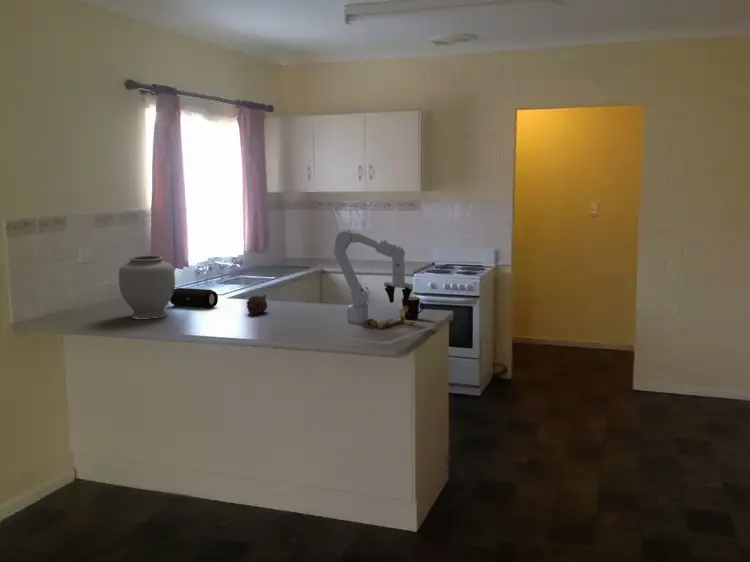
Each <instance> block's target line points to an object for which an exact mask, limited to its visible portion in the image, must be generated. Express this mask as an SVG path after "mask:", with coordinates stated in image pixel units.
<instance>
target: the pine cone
mask: <svg viewBox="0 0 750 562" xmlns="http://www.w3.org/2000/svg"><path fill="white" fill-rule="evenodd" d="M266 297H267V295H266V294H264V295H252V296H251V297H250V298H248V301H246V308H247V311H248V313H249V314H250V315H253V316H256V315H258V314H260V313H264V312H265V311H266V310H267V308H268V303H267V301H266Z"/></svg>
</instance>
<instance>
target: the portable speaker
mask: <svg viewBox="0 0 750 562" xmlns="http://www.w3.org/2000/svg"><path fill="white" fill-rule="evenodd" d="M169 302H170V304H172V305H174V306H175V307H181V308H192V309H194V308H195V309H196V308H197V309H211V308H215V307H216V306H217V304H218V302H219V295H218V293H217V292H216V291H214V290H213V289H209V288H207V289H206V288H190V287H189V288H187V287H177V288H176V287H175V289H174V293H173V295H172V297H171V299H170V301H169Z"/></svg>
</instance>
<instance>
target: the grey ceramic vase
mask: <svg viewBox="0 0 750 562" xmlns="http://www.w3.org/2000/svg"><path fill="white" fill-rule="evenodd" d="M128 260H129V262H127V263H124V264H122V265H121V266H120V267H119V271H118V287H119V291H120V293H121V294H120V295H121V296H122V298H123V300H124V301H125V303H126V304H127V305H128V306H129V307H130V308H131V309H132V310H133V312H132V314H131V315H130V317H131V316H132V317H138V318H153V317H161V316H165V315H167V316H168V312H167V311H165V308H166V307H167V305H168V303H169V302H170V299H171V297H172V295H173V293H174V289H176V275H175V273H176V272H175V268H174V267H173V265H172V264H171V263H169V262H167V261H163V256H161V255H136V256H131V257H129V259H128ZM165 317H166V316H165Z"/></svg>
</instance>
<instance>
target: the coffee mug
mask: <svg viewBox="0 0 750 562" xmlns="http://www.w3.org/2000/svg"><path fill="white" fill-rule="evenodd" d="M420 300H421V298H420V297H419V296H409V299H408V304H404V299H403V297H402V298H401V304H402V309H405V320H404V321H417V320H418V318H419V314H420V313H421V312H423V310H424V309H425V304H424V303H423V302H422V301H420ZM420 304H421V305H422V308H421V309H420Z"/></svg>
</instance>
